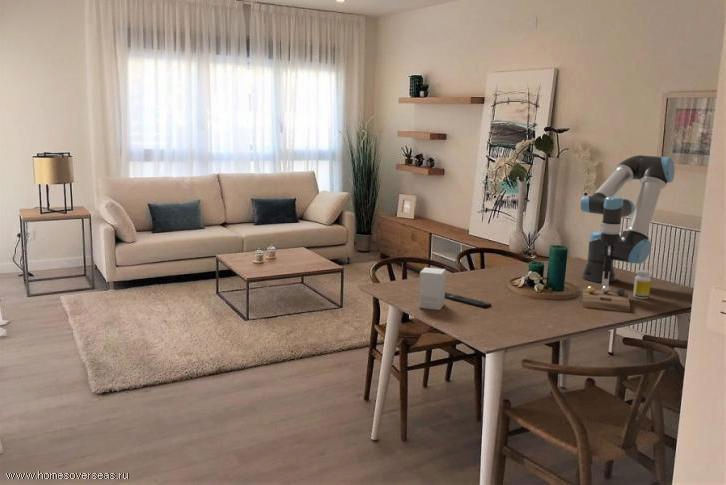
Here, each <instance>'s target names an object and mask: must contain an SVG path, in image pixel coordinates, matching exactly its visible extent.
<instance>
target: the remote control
mask: <svg viewBox="0 0 726 485" xmlns="http://www.w3.org/2000/svg"><path fill="white" fill-rule="evenodd" d="M446 298H447V300H450V299H451V300H452V301H454V302H457V303H462V304H466V305H470V306H473V307H474V306H475V307H478V308H482V309H487V308H488V309H489V308H490V307H491V306H492V303H489V302H486V301H482V300H478V299H474V298H469V297H464V296H461V295H458V294H453V293H449V292H446V291H445V299H446Z"/></svg>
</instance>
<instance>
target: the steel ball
mask: <svg viewBox="0 0 726 485" xmlns="http://www.w3.org/2000/svg"><path fill="white" fill-rule="evenodd" d="M601 290H602V292H603V293H608V292H609V291H611V289H610V287H609V285H608V286H602V288H601Z"/></svg>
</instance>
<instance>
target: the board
mask: <svg viewBox="0 0 726 485" xmlns="http://www.w3.org/2000/svg"><path fill="white" fill-rule="evenodd" d="M628 294H629V293H628V292H625V293H624V295H618V294H617V291H612V290H610V291H609V292H608V293H603V292H602V289H595V292H594V293H592V294H590V293H588V292H587V288H585V287H583V289H582V303H581V304H582V308H589V309H590V308H591V309H600V310H609V311H610V310H611V311H617V312H626V313H627V312H628V313H630V311H631V310H630V309H631V304H630V299H629V295H628Z"/></svg>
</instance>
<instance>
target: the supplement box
mask: <svg viewBox="0 0 726 485" xmlns="http://www.w3.org/2000/svg"><path fill="white" fill-rule="evenodd" d="M446 272H447V271H446V268H435V267H425V266H424V268H423V269H422V270H420V272H419V289H418V292H419V294H418V298H419V299H418V308H419V309H426V310H427V309H429V310H438V311H440V310H442V308H443V306H444V305H445V299H446V298H445V292H446V291H445V290H446Z"/></svg>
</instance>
